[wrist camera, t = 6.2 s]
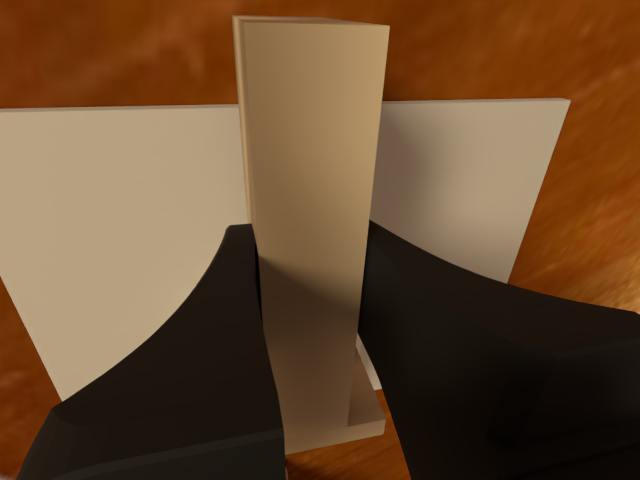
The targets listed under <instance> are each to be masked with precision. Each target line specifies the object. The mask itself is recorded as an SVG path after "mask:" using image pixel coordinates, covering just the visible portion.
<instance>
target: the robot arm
mask: <svg viewBox="0 0 640 480" xmlns="http://www.w3.org/2000/svg"><path fill="white" fill-rule="evenodd" d="M357 333H358V335H359V337H360V339H361V341H362V343H363V345H364V348H365V350H366V352H367V354H368V356H369V358H370V360H371V362H372V364H373V367H374V369H375V371H376V374H377V376H378V379H379V381H380V384H381V387H382V390H383V393H384V395H385V398H386V401H387V404H388V407H389V410H390V413H391V416H392V419H393V422H394V425H395V428H396V431H397V434H398V437H399V440H400V443H401V447H402V450H403V453H404V456H405V460H406V463H407V466H408V470H409V473H410V476H411V480H640V314H638V313H636V312H632V311H627V310H621V309H615V308H610V307H604V306H598V305H593V304H587V303H581V302H576V301H571V300H567V299H563V298H559V297H554V296H550V295H546V294H542V293H538V292H534V291H530V290H527V289H523V288H519V287H516V286H513V285H510V284H507V283H503V282H500V281H497V280H494V279H491V278H488V277H485V276H482V275H479V274H477V273H474V272H472V271H469V270H467V269H464V268H462V267H459V266H457V265H454V264H452V263H450V262H448V261H445V260H443V259H441V258H439V257H437V256H435V255H433V254H431V253H429V252H427V251H425V250H423V249H421V248H419V247H417V246H415V245H413V244H411V243H410V242H408V241H406V240H404V239H403V238H401V237H399V236H397V235H396V234H394V233H392V232H390V231H389V230H387V229H385V228H384V227H382V226H380V225H378V224H377V223H375V222H373V221H371V220H370V219H369V226H368V236H367V245H366V255H365V264H364V273H363V283H362V292H361V302H360V311H359V320H358V330H357ZM16 480H286V471H285V439H284V428H283V422H282V416H281V410H280V404H279V397H278V392H277V388H276V384H275V380H274V376H273V372H272V368H271V363H270V359H269V354H268V350H267V345H266V340H265V335H264V331H263V326H262V320H261V315H260V303H259V288H258V273H257V258H256V243H255V235H254V231H253V227H252V223H250V224H238V225H229V226H228V227H227V228H226V230H225V234H224V237H223V240H222V242H221V244H220V246H219V248H218V250H217V252H216V254H215V256H214V258H213V260H212V261H211V263H210V265H209V267H208V268H207V270H206V271H205V273H204V274H203V276H202V277H201V279H200V280H199V282H198V283H197V285H196V286H195V288H194V289H193V290H192V292H191V293H190V294H189V296H188V297H187V298H186V299H185V301H184V302H183V303H182V304H181V305H180V306H179V308H178V309H177V310H176V311H175V312H174V313H173V314H172V315H171V316H170V317H169V318H168V319H167V320H166V322H165V323H164V324H163V325H162V326H161V327H160V328H159V329H158V330H157V331H156V332H155V333H154V334H152V335H151V336H150V337H149V338H148V339H147V340H146V341H145V342H143V343H142V344H141V345H140V346H139V347H138V348H136V349H135V350H134V351H133V352H132V353H130V354H129V355H128V356H126V357H125V358H124V359H123V360H121V361H120V362H119V363H117V364H116V365H115V366H114V367H112V368H111V369H109V370H108V371H107V372H105V373H104V374H103V375H101V376H100V377H98V378H97V379H95V380H94V381H92V382H91V383H89V384H88V385H86V386H85V387H83V388H82V389H80V390H79V391H78V392H76V393H75V394H73V395H72V396H70V397H69V398H67V399H66V400H64V401H63V402H61V403H59V404H58V405H56V406H55V407H53V408H52V409H51V411H50V413H49V414H48V416H47V418H46V420H45V422H44V424H43V426H42V428H41V429H40V431H39V433H38V434H37V436H36V438H35V440H34V442H33V444H32V446H31V448H30V450H29V452H28V454H27V456H26V458H25V460H24V462H23V465H22V467H21V470H20V472H19V474H18V477H17V479H16Z"/></svg>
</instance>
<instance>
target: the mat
mask: <svg viewBox="0 0 640 480" xmlns="http://www.w3.org/2000/svg"><path fill="white" fill-rule="evenodd" d="M570 102H571V100H567V99H564V98H534V99H482V100H430V101H382V104H381V114H380V123H379V132H378V142H377V151H376V161H375V170H374V179H373V189H372V198H371V208H370V217H369V219H370V220H371V221H373V222H375V223H377V224H378V225H380V226H382V227H384V228H385V229H387V230H389V231H390V232H392V233H394V234H396V235H397V236H399V237H401V238H403V239H404V240H406V241H408V242H410V243H411V244H413V245H415V246H417V247H419V248H421V249H423V250H425V251H427V252H429V253H431V254H433V255H435V256H437V257H439V258H441V259H443V260H445V261H448V262H450V263H452V264H454V265H457V266H459V267H462V268H464V269H467V270H469V271H472V272H474V273H477V274H479V275H482V276H485V277H488V278H491V279H494V280H497V281H500V282H503V283H507V282H508V279H509V276H510V273H511V271H512V268H513V265H514V262H515V259H516V256H517V253H518V251H519V248H520V245H521V242H522V239H523V236H524V233H525V231H526V228H527V225H528V222H529V219H530V216H531V213H532V210H533V208H534V205H535V202H536V199H537V196H538V193H539V190H540V188H541V185H542V182H543V179H544V176H545V173H546V170H547V167H548V165H549V162H550V159H551V156H552V153H553V150H554V147H555V145H556V142H557V139H558V136H559V133H560V130H561V127H562V125H563V122H564V119H565V116H566V113H567V110H568V107H569V104H570ZM238 224H248V221H247V208H246V195H245V182H244V169H243V156H242V143H241V130H240V117H239V104H223V105H172V106H120V107H68V108H16V109H0V276H1V278H2V280H3V282H4V284H5V286H6V288H7V290H8V292H9V294H10V296H11V298H12V300H13V302H14V304H15V306H16V309H17V311H18V313H19V315H20V317H21V319H22V321H23V323H24V325H25V327H26V329H27V331H28V333H29V335H30V337H31V339H32V341H33V343H34V345H35V347H36V349H37V351H38V353H39V355H40V357H41V359H42V361H43V363H44V365H45V367H46V370H47V372H48V374H49V376H50V378H51V380H52V382H53V384H54V386H55V388H56V390H57V392H58V394H59V396H60V398H61V400H62V402H63V401H64V400H66V399H67V398H69V397H70V396H72V395H73V394H75V393H76V392H78V391H79V390H80V389H82V388H83V387H85V386H86V385H88V384H89V383H91V382H92V381H94V380H95V379H97V378H98V377H100V376H101V375H103V374H104V373H105V372H107V371H108V370H109V369H111V368H112V367H114V366H115V365H116V364H117V363H119V362H120V361H121V360H123V359H124V358H125V357H126V356H128V355H129V354H130V353H132V352H133V351H134V350H135V349H136V348H138V347H139V346H140V345H141V344H142V343H143V342H145V341H146V340H147V339H148V338H149V337H150V336H151V335H152V334H154V333H155V332H156V331H157V330H158V329H159V328H160V327H161V326H162V325H163V324H164V323H165V322H166V320H167V319H168V318H169V317H170V316H171V315H172V314H173V313H174V312H175V311H176V310H177V309H178V308H179V306H180V305H181V304H182V303H183V302H184V301H185V299H186V298H187V297H188V296H189V294H190V293H191V292H192V290H193V289H194V285H197V283H198V282H199V280H200V279H201V277H202V276H203V274H204V273H205V271H206V270H207V268H208V267H209V265H210V263H211V261H212V260H213V258H214V256H215V254H216V252H217V250H218V248H219V246H220V244H221V242H222V240H223V237H224V234H225V230H226V228H227V227H228V226H229V225H238ZM360 357H361V360H362V362H363V365H364V367H365V369H366V372H367V374H368V377H369V379H370V382H371V384H372V386H373V389H374V390H377V389H382V387H381V384H380V381H379V379H378V376H377V374H376V371H375V369H374V367H373V364H372V362H371V360H370V358H369V356H368V354H367V352H366V350H365V348H364V345H363V343H362V341H361V348H360Z"/></svg>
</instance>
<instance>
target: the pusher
mask: <svg viewBox="0 0 640 480" xmlns="http://www.w3.org/2000/svg"><path fill="white" fill-rule="evenodd" d="M232 26H233V39H234V52H235V65H236V78H237V91H238V104H239V117H240V130H241V143H242V156H243V169H244V182H245V195H246V208H247V221H248V224H250V223H252V227H253V231H254V235H255V243H256V258H257V273H258V288H259V303H260V315H261V320H262V326H263V331H264V335H265V340H266V345H267V350H268V354H269V359H270V363H271V368H272V372H273V376H274V380H275V384H276V388H277V392H278V397H279V404H280V410H281V416H282V422H283V428H284V439H285V455H287V454H292V453H296V452H301V451H306V450H311V449H315V448H320V447H325V446H330V445H334V444H339V443H344V442H349V441H353V440H358V439H363V438H367V437H372V436H377V435H382V434H383V433H384V428H385V422H386V418H385V415H384V413H383V411H382V408H381V406H380V403H379V401H378V398H377V396H376V394H375V391H374V389H373V386H372V384H371V382H370V379H369V377H368V374H367V372H366V369H365V367H364V365H363V362H362V360H361V357H360V355H359V353H358V350H357V348H356V339H357V330H358V320H359V311H360V302H361V292H362V283H363V273H364V264H365V255H366V245H367V236H368V226H369V217H370V208H371V198H372V189H373V179H374V170H375V161H376V151H377V142H378V132H379V123H380V114H381V104H382V95H383V85H384V76H385V67H386V57H387V48H388V38H389V29H390V26H386V25H378V24H370V23H362V22H354V21H345V20H337V19H329V18H320V17H284V16H249V15H232Z"/></svg>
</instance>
